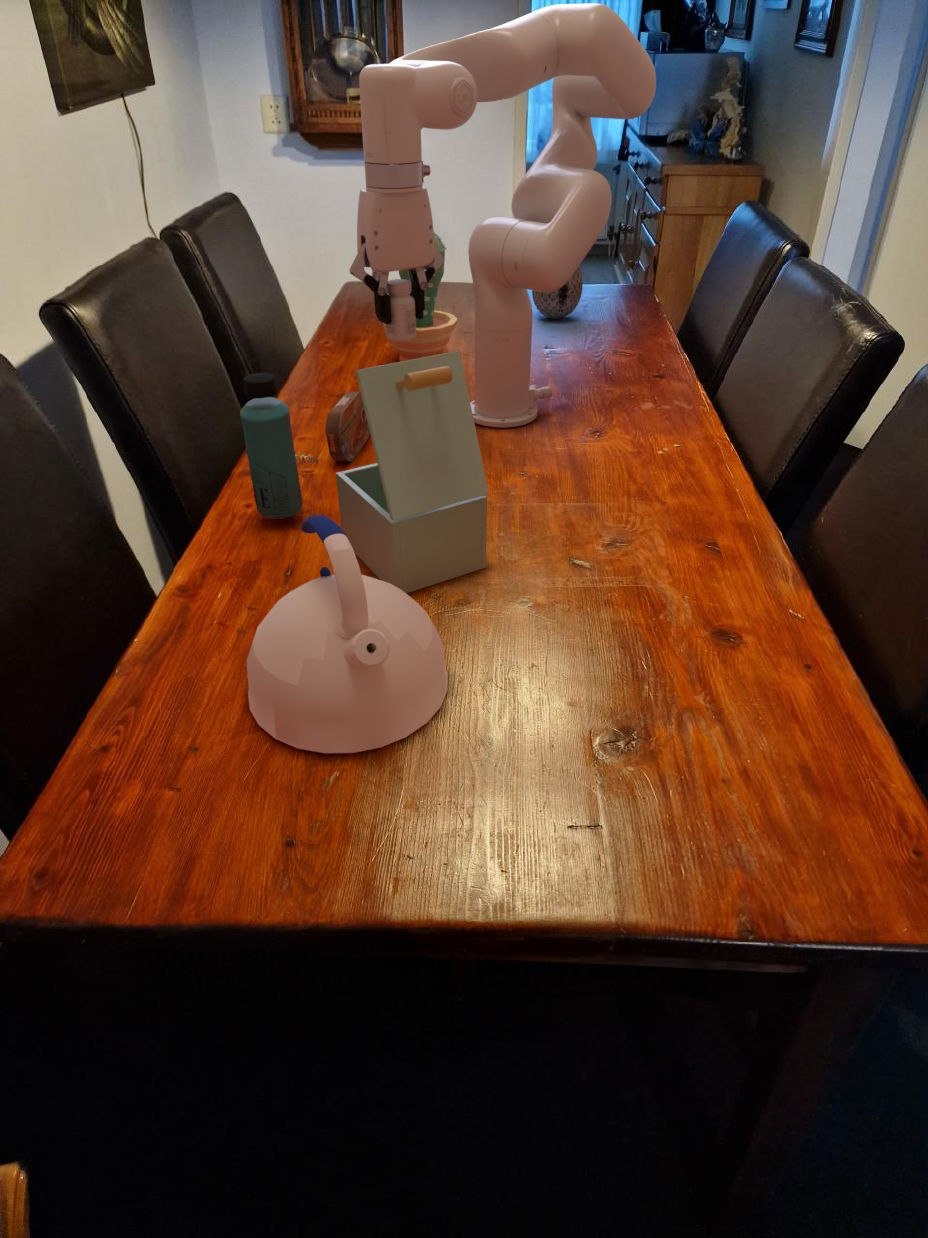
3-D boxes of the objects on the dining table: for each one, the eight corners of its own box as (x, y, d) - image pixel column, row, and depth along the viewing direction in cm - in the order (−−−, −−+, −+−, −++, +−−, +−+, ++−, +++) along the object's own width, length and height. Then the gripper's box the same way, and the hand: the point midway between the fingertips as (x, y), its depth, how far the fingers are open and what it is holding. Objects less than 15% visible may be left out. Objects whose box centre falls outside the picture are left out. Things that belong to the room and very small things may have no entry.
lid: (355, 370, 87) (372, 363, 83) (456, 351, 92) (478, 344, 88) (390, 520, 91) (409, 521, 87) (485, 493, 97) (507, 493, 92)
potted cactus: (472, 361, 168) (473, 229, 153) (408, 375, 161) (402, 238, 146) (432, 343, 178) (429, 217, 164) (370, 355, 171) (361, 225, 157)
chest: (342, 540, 108) (335, 472, 102) (425, 517, 113) (423, 451, 107) (396, 596, 97) (392, 523, 91) (486, 567, 102) (487, 497, 96)
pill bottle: (415, 332, 121) (413, 277, 117) (416, 341, 118) (414, 285, 113) (386, 333, 121) (383, 278, 117) (386, 342, 118) (383, 285, 113)
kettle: (274, 785, 72) (241, 619, 62) (231, 653, 88) (199, 503, 77) (481, 722, 79) (484, 562, 68) (407, 610, 94) (400, 466, 84)
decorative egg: (526, 312, 198) (529, 245, 190) (574, 310, 200) (578, 244, 191) (535, 325, 189) (538, 256, 180) (585, 323, 190) (590, 254, 181)
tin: (345, 470, 125) (340, 418, 121) (326, 469, 126) (320, 416, 121) (373, 433, 137) (370, 384, 133) (355, 431, 138) (351, 382, 133)
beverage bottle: (313, 511, 115) (295, 369, 103) (290, 533, 109) (269, 387, 98) (272, 504, 116) (250, 364, 105) (247, 525, 111) (222, 381, 100)
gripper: (436, 169, 114) (438, 305, 124) (323, 178, 107) (336, 321, 117) (463, 175, 108) (464, 317, 119) (346, 185, 101) (358, 334, 112)
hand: (400, 318), depth 118 cm, fingers closed on pill bottle, 4 cm apart
